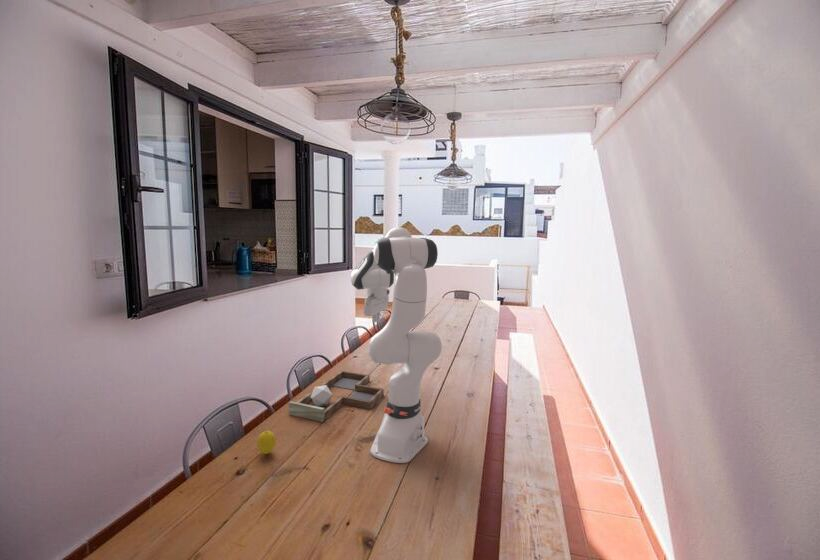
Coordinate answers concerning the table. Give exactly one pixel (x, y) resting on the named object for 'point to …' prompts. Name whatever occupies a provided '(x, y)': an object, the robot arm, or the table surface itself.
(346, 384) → the end trap mat
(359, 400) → the box
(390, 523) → the table surface
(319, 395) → the die
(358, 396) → the side trap mat
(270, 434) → the lemon
